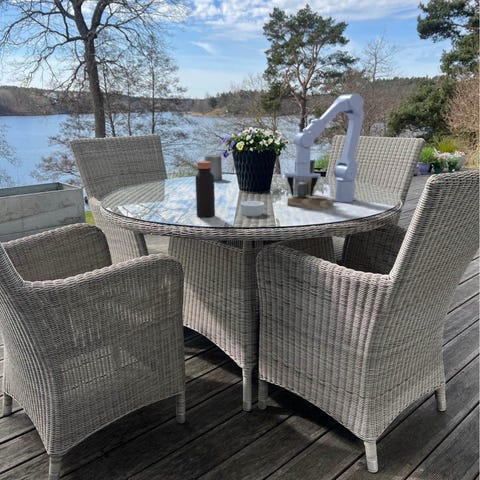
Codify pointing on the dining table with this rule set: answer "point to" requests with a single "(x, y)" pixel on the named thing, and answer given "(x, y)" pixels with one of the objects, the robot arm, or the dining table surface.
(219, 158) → the pillar candle
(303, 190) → the grey rounded cylinder
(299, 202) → the socket block
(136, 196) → the dining table surface
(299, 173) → the robot arm
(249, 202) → the ramekin
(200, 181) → the bottle
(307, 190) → the coffee box
